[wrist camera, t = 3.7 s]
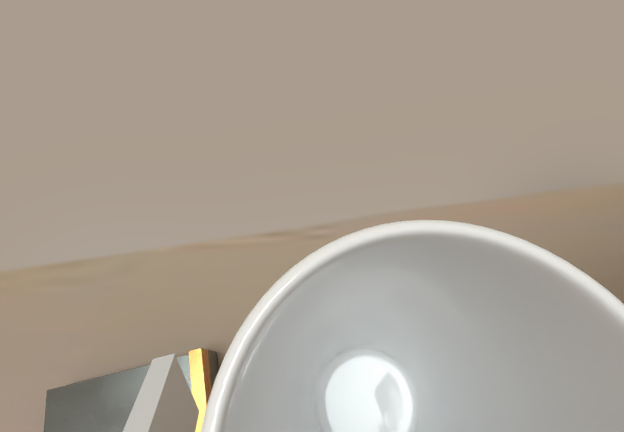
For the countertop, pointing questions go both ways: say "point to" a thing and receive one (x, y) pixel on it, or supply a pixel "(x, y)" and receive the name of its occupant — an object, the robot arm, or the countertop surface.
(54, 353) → the countertop surface
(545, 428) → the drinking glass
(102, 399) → the square coaster
